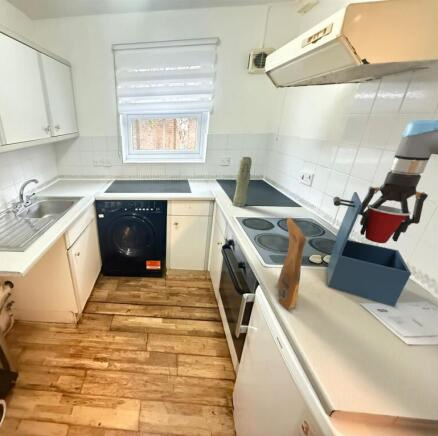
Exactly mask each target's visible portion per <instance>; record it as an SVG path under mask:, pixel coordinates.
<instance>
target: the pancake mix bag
mask: <svg viewBox="0 0 438 436" xmlns="http://www.w3.org/2000/svg"><path fill="white" fill-rule="evenodd" d="M286 225H287V232H288V239H289V240H288V248H287V249H288V250H287V254H286V257H285V259H284V262H283V265H282V267H281V270H280V274H279V277H278V280H277V291H278V299H279V304H280V305H281V306H282V307H283V308H285V310H287V311H289V312H290V311H291V309H293V308H295V306H296V303H297V300H298V295H299V288H300V280H301V271H302V261H303V257H304V256H303V255H304V252H305V247H306V244H307V242H308V240H307V238H306V236H305V234H304V233H303V231H302V230H301V228H300V227H299V226H298V225H297V224H296V223H295V221H294V220H293V218H292V217H291V216H290V217H289V218H287V220H286Z"/></svg>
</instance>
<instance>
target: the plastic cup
mask: <svg viewBox="0 0 438 436" xmlns="http://www.w3.org/2000/svg"><path fill="white" fill-rule="evenodd" d="M371 205H372V204H368V205H367V207H366V208H367V209H369V210H370V211H369V216H368V218H369V222H368V226H367V228H366V231H365V233H364V236H365V237H364V238H365V239H366V240H368V241H369V242H372V243H377V244H386V243H387V242H388V241H389V240H390V239H391V238H392V237H393V235H394V233H395V231H396V230H397V228H398V227H399V225H400V224H401V223H402V222H403V221H404V219H405V218H406V217H407V216H408V215H409V216H410V215H411V214H412V212H410V211H409V214H402V210H401V208H399V207H394V206H388V205H383V204H382V205H381V206H379V207H378V208H377V209H374V208H372V207H370V206H371Z"/></svg>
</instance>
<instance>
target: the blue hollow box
mask: <svg viewBox="0 0 438 436" xmlns="http://www.w3.org/2000/svg"><path fill="white" fill-rule="evenodd" d="M326 267H327V287H328V288H331V289H334V290H338V291H341V292H344V293H347V294H350V295H354V296H357V297H361V298H363V299H368V300H370V301H373V302H377V303H379V304H380V303H381V304H384V305H387V306H389V307H392V308H394V307H395V306H396V304H397V302H398V300H399V299H400V296H401V294H402V292H403V291H404V288H405V287H406V285H407V283H408V281H409V279H410V277H411V275H412V272H411V270H410V269H409V266H408V265H407V263H406V262H405V259H404V258H403V257H402V254H401V252H400V251H399V249H394V248H390V247H385V246H380V245H375V244H370V243H365V242H360V241H356V240H351V239H348V240H347V242H346V245H345V247H344V249H343V252H342V254H341V255H338V247H337V238H336V240H335V242H334V245H333V248H332V251H331V254H330V257H329V260H328V263H327V266H326Z"/></svg>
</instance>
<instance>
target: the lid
mask: <svg viewBox="0 0 438 436" xmlns="http://www.w3.org/2000/svg"><path fill="white" fill-rule="evenodd" d="M332 200H333V205H334V206H335V207H339V206H345V207H347V209H346V211H345V213H344V216H343V219H342V221H341V223H340V226H339V228H338V231H337V233H336V236H335V237H336V239H337V247H338V255H341V254H342V252H343V249H344V247H345V245H346V242H347V240H349V237H350V235H351V233H352V232H353V228H354V226H355V224H356V221H357V219H358V217H359V216H360V215H359V212H360V210H361V208H362V201H361V199H360V196H359V194H358V192H356V191H354V192H353V194H352V196H351V199H350V200H348V199H344V198H343V199H342V198H340V197H339V196H334V197H333V199H332Z"/></svg>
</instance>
